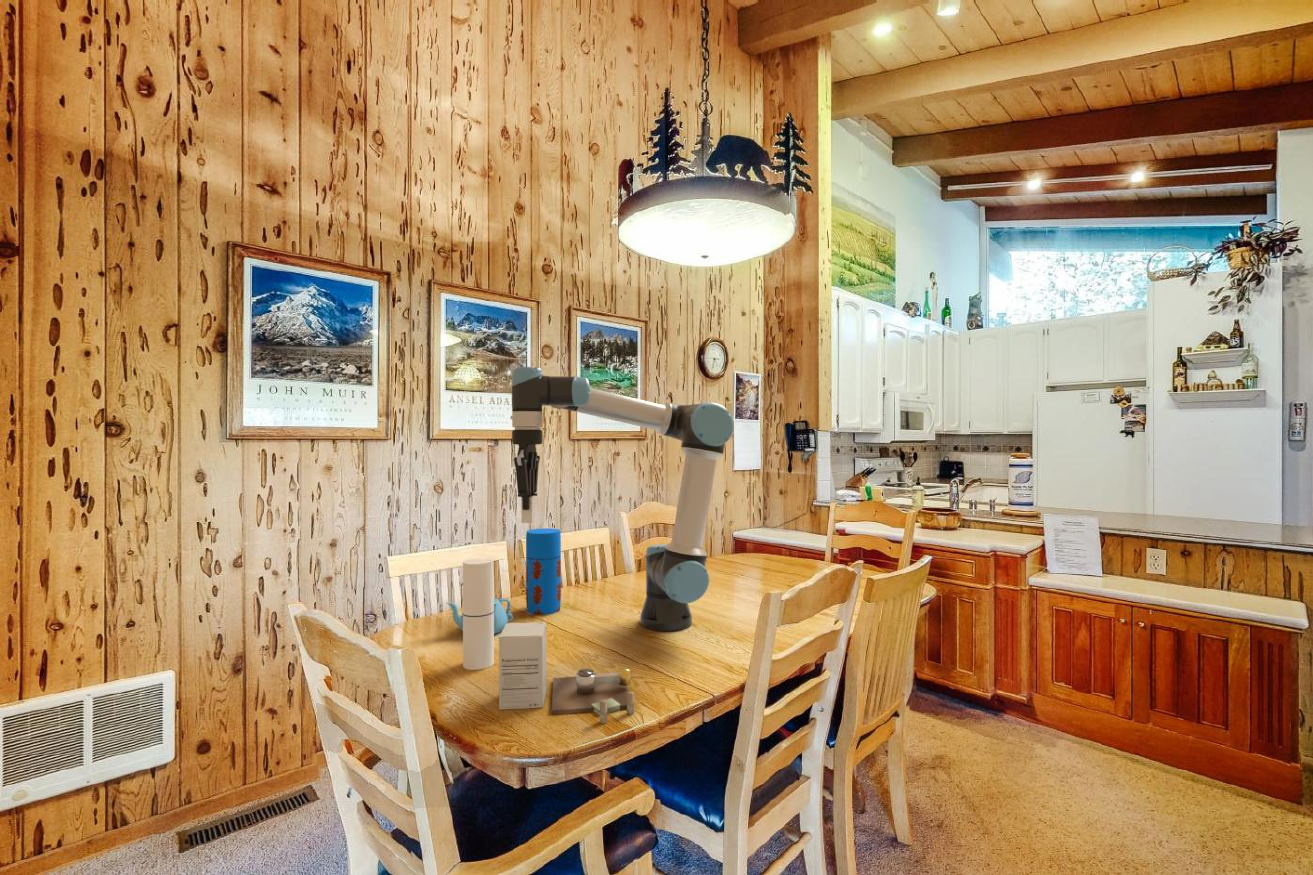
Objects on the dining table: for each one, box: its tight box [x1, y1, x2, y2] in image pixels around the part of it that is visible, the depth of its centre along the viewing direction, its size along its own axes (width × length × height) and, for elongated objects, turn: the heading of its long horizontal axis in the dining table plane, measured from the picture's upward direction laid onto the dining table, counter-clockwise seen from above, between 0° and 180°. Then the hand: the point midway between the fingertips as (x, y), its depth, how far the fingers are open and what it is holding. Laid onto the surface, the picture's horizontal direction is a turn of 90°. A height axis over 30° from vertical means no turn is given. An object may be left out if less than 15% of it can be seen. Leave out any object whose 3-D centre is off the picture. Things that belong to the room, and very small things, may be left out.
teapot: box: [445, 597, 514, 635], centre depth 169 cm, size 15×15×10 cm
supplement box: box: [498, 621, 548, 710], centre depth 125 cm, size 9×9×15 cm
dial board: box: [551, 676, 635, 725], centre depth 125 cm, size 16×21×4 cm
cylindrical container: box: [462, 557, 495, 671], centre depth 145 cm, size 7×7×25 cm
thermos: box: [525, 527, 562, 616], centre depth 189 cm, size 11×11×25 cm
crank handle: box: [575, 666, 632, 693], centre depth 128 cm, size 12×4×4 cm, turn 99°
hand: (527, 522), depth 151 cm, fingers closed
